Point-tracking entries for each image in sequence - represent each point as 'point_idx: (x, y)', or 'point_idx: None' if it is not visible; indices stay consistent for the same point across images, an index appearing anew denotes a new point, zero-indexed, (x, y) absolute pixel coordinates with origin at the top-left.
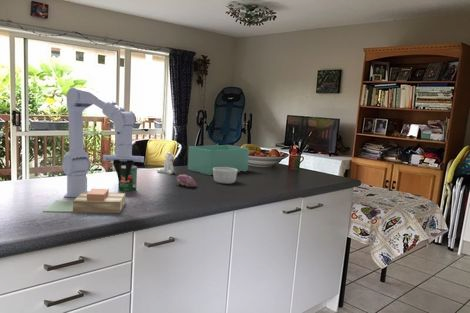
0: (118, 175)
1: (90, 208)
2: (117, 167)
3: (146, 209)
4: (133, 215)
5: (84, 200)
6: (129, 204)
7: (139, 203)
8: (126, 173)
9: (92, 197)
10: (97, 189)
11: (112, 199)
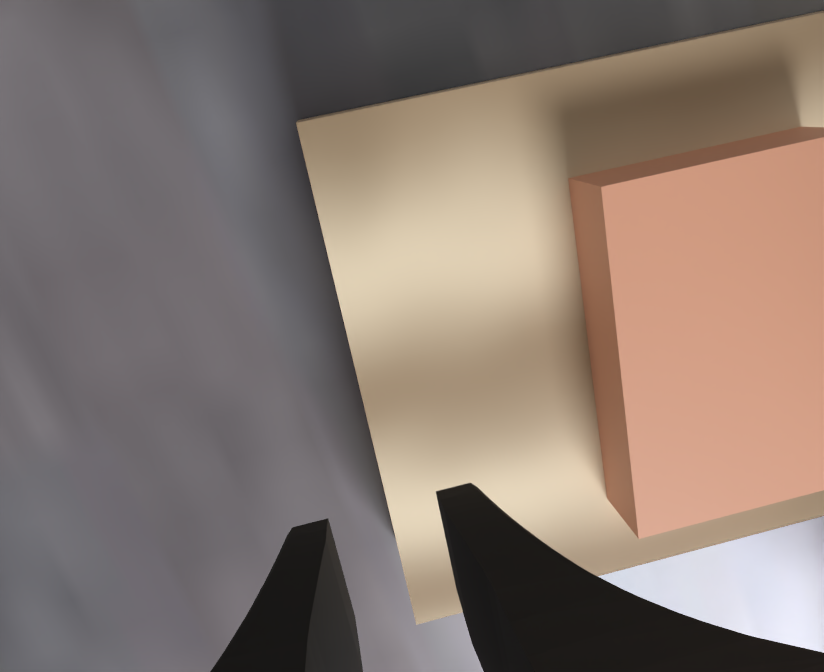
0: (501, 528)
1: (668, 43)
2: (613, 653)
3: (40, 371)
4: (75, 49)
5: (814, 58)
6: (331, 507)
7: (237, 581)
8: (290, 620)
9: (742, 143)
10: (778, 459)
11: (459, 240)
